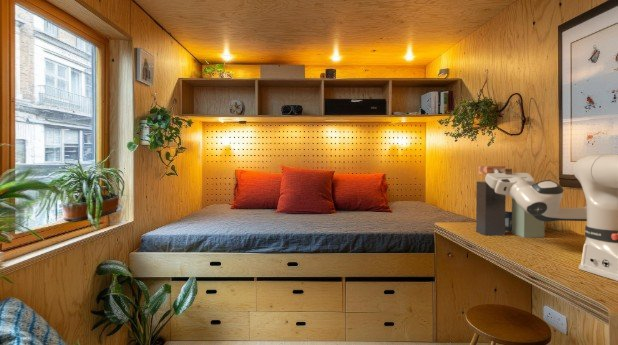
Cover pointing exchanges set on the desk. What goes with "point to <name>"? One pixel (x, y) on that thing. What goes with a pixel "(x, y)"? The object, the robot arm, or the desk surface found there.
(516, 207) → the sage tower
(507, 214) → the vhs cassette tape
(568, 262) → the desk surface
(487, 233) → the tower
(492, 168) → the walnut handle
